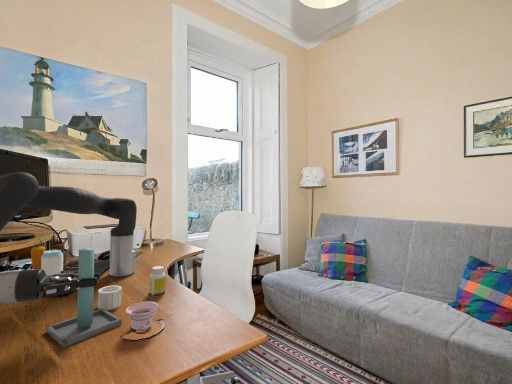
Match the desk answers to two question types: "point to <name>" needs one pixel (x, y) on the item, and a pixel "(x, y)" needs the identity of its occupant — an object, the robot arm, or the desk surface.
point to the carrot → (37, 255)
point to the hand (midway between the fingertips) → (98, 279)
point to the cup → (109, 297)
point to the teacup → (142, 315)
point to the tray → (82, 328)
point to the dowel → (87, 292)
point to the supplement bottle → (157, 281)
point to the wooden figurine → (59, 248)
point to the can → (52, 262)
